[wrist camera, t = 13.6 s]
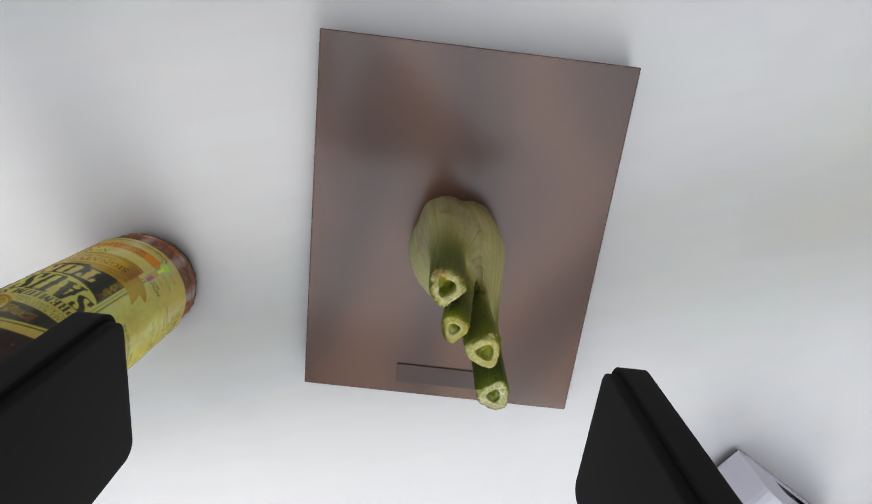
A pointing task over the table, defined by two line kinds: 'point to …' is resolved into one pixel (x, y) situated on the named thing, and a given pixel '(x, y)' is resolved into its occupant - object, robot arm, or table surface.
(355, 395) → the table surface
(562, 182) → the cutting board
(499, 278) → the fennel bulb
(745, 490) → the charger
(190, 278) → the sauce bottle
